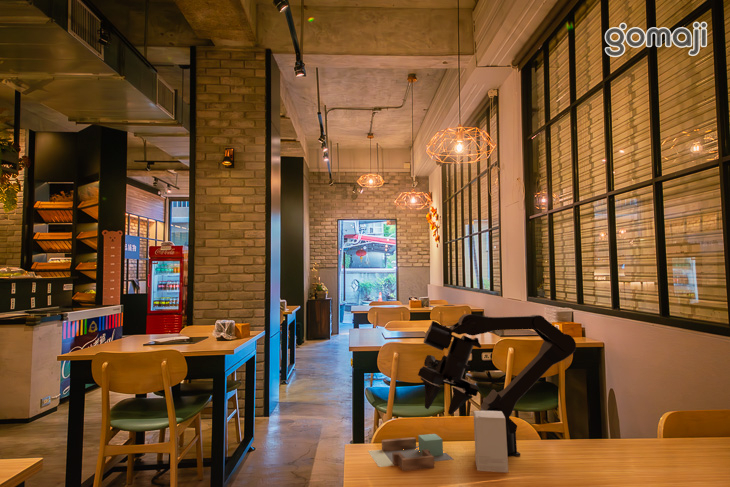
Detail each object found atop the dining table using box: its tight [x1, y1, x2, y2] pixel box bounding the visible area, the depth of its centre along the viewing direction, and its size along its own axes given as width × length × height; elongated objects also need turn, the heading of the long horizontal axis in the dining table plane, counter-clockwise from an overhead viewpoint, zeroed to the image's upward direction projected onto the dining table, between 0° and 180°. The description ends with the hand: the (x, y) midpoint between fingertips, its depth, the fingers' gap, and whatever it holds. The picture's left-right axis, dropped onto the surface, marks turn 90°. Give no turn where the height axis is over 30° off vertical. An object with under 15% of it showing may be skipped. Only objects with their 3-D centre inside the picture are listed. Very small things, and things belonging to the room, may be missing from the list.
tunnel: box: [381, 436, 435, 472], centre depth 112 cm, size 10×16×3 cm, turn 13°
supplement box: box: [473, 410, 509, 473], centre depth 106 cm, size 7×7×13 cm
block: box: [417, 433, 444, 456], centre depth 115 cm, size 5×5×4 cm
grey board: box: [367, 445, 455, 468], centre depth 114 cm, size 20×12×1 cm, turn 103°
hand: (438, 411), depth 117 cm, fingers open, 9 cm apart
